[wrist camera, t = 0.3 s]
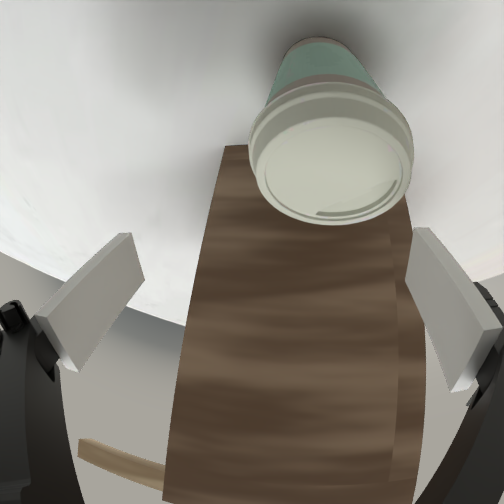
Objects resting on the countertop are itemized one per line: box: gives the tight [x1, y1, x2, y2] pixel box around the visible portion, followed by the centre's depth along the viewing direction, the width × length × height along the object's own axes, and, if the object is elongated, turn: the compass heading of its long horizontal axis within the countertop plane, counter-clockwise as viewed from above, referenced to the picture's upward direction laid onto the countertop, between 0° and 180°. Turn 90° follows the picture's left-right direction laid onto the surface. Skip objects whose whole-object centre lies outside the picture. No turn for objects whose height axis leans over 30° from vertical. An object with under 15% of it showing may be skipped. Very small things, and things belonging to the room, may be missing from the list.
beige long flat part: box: [78, 439, 165, 491], centre depth 19 cm, size 6×28×2 cm, turn 98°
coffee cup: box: [248, 37, 414, 225], centre depth 16 cm, size 8×8×12 cm
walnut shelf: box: [162, 145, 426, 504], centre depth 25 cm, size 16×16×32 cm
